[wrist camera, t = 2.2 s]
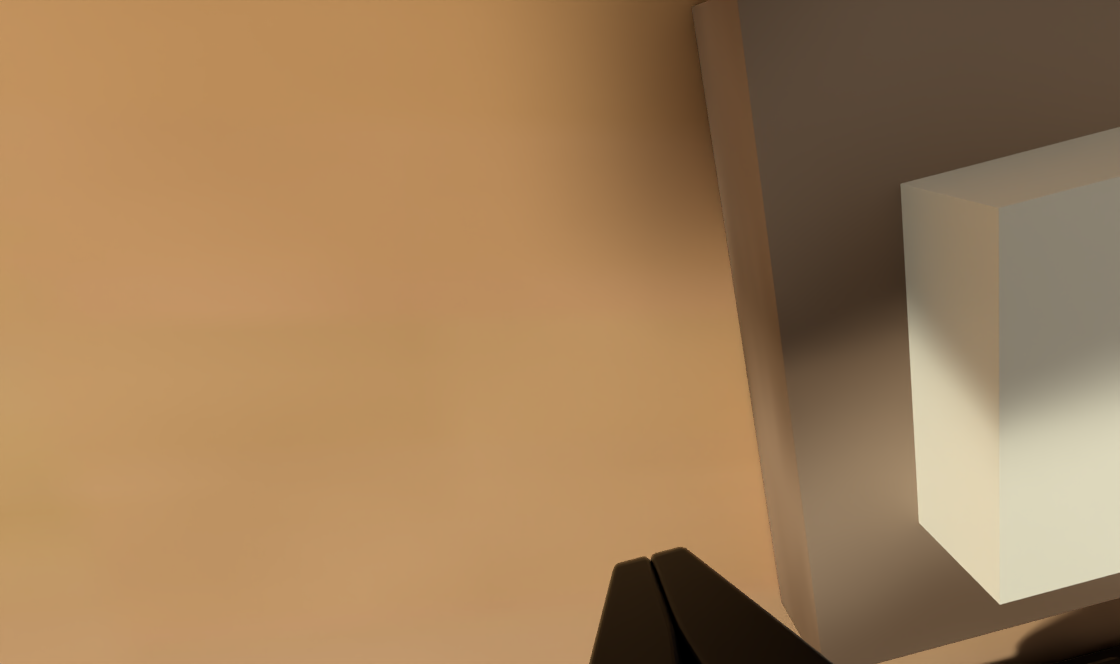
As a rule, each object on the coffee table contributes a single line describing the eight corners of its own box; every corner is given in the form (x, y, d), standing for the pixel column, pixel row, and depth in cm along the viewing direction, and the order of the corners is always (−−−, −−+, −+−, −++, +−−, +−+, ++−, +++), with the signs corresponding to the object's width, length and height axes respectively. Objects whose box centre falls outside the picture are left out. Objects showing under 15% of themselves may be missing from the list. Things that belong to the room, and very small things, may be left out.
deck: (1309, 461, 15) (1426, 515, 13) (781, 602, 15) (824, 677, 13) (1431, -182, 11) (1631, -238, 9) (691, 6, 11) (736, -9, 9)
